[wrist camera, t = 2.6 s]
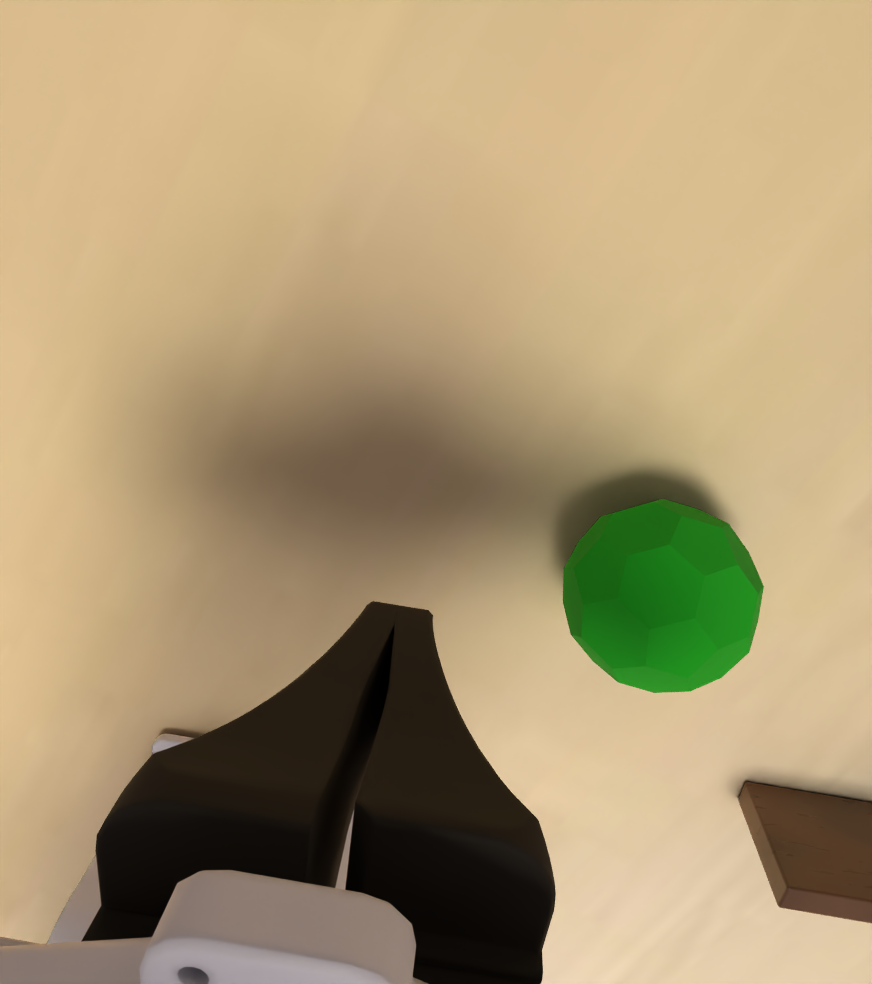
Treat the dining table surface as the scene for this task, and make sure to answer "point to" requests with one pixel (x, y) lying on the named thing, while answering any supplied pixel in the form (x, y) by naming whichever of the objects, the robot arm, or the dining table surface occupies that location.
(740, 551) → the polyhedron
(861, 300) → the dining table surface
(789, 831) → the brown l-shaped bars
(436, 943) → the robot arm
